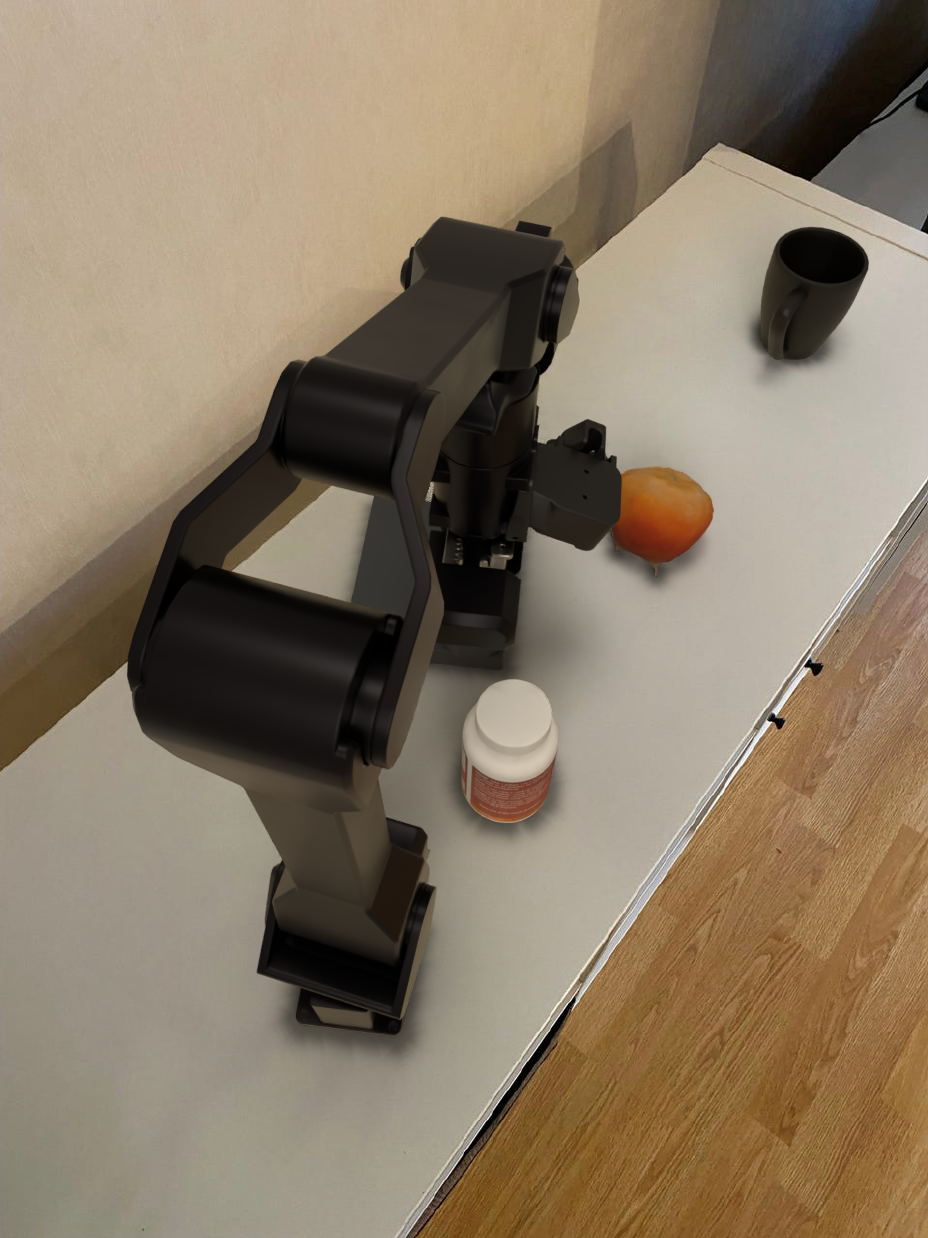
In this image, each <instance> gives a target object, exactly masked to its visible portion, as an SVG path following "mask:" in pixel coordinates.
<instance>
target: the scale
mask: <svg viewBox="0 0 928 1238" xmlns="http://www.w3.org/2000/svg"><path fill="white" fill-rule="evenodd" d="M430 505H431V500H430V501H429V500H425V503H424V506H423V510H422V518H423V521H424V525H425V529H426V533H427V537H428V541H429V536H430V531H431V530H436V531H442V530H441V528H440V527H436V526H429V511H430ZM414 586H415V578H414V574H413V570H412V566H411V562H410V558H409V554H408V550H407V546H406V542H405V538H404V534H403V530H402V526H401V522H400V518H399V514H398V510H397V506H396V502H395V501H391V500H387V499H383V498H379V497H375V496H373V498H372V504H371V507H370V513H369V518H368V522H367V525H366V531H365V536H364V540H363V545H362V549H361V554H360V558H359V563H358V568H357V572H356V578H355V582H354V587H353V592H352V596H351V601H350V603H354V604H358V605H361V606H365V607H369V608H373V609H377V610H380V611H384V612H388V613H392V614H396V615H399V616H401V617H403V618H404V619H405V616H406V612H407V609H408V606H409V602H410V599H411V596H412V592H413V589H414ZM504 659H505V651H502V650H493V649H484V648H474V647H465V646H456V645H447V644H438V643H435V646H434V649H433V653H432V656H431V659H430V663H432V664H441V665H450V666H458V667H469V668H477V669H487V670H495V671H503V669H504ZM430 663H429V664H430Z"/></svg>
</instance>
